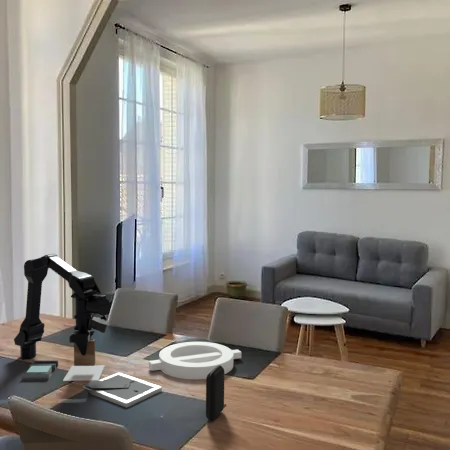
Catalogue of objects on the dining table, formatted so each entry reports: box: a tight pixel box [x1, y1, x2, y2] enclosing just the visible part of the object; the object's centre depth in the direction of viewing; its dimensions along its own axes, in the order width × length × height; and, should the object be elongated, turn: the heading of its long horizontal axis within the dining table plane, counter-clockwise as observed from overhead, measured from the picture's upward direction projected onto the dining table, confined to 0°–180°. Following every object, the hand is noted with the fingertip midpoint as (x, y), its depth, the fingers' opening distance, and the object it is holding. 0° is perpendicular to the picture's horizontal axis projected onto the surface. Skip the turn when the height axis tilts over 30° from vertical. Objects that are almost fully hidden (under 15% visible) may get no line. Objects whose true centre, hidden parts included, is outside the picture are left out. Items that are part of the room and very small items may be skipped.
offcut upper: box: [26, 366, 52, 373], centre depth 181 cm, size 6×7×1 cm
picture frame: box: [82, 372, 163, 408], centre depth 170 cm, size 16×3×21 cm
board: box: [62, 364, 106, 382], centre depth 183 cm, size 14×12×1 cm
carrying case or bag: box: [205, 365, 225, 422], centre depth 153 cm, size 11×3×15 cm, turn 159°
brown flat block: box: [73, 338, 96, 366], centre depth 182 cm, size 2×7×9 cm, turn 94°
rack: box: [20, 359, 59, 382], centre depth 183 cm, size 14×9×3 cm, turn 4°
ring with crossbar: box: [148, 341, 242, 380], centre depth 195 cm, size 28×28×5 cm
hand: (84, 354), depth 182 cm, fingers closed on brown flat block, 2 cm apart
